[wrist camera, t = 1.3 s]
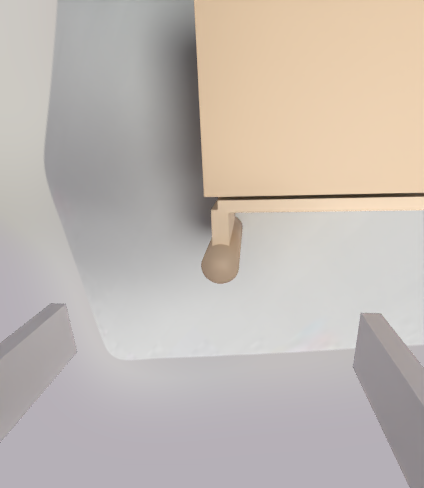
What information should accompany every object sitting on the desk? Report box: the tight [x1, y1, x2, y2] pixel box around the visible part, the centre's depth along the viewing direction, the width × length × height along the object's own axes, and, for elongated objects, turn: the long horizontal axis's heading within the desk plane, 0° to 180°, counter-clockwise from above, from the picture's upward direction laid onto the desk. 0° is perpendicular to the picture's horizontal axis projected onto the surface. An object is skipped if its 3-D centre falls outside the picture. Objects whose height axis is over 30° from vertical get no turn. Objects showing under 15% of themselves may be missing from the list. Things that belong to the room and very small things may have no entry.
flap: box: [201, 193, 424, 284], centre depth 23 cm, size 6×15×10 cm, turn 92°
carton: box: [194, 0, 424, 197], centre depth 20 cm, size 12×14×12 cm
